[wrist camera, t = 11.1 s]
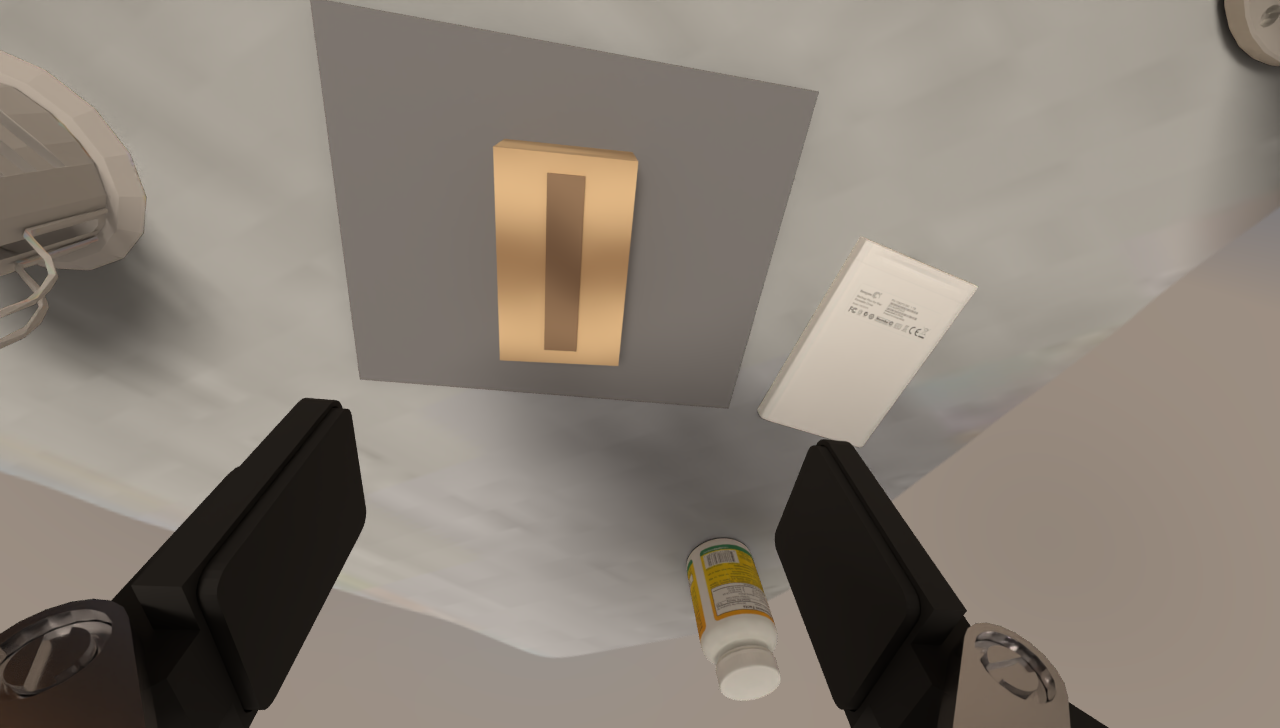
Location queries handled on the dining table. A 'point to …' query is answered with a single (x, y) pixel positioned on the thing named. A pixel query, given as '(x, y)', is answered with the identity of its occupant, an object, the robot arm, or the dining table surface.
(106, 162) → the french press
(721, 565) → the supplement bottle
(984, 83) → the dining table surface
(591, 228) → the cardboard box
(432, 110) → the rubber mat
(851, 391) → the external hard drive
